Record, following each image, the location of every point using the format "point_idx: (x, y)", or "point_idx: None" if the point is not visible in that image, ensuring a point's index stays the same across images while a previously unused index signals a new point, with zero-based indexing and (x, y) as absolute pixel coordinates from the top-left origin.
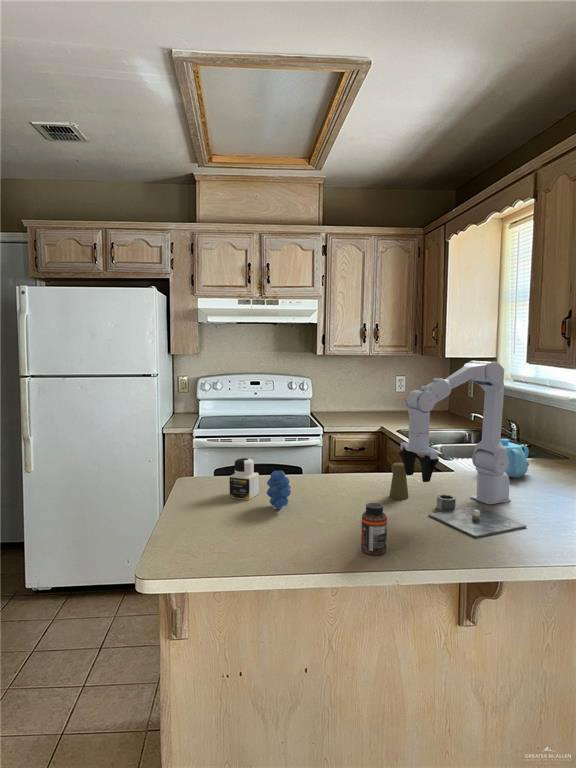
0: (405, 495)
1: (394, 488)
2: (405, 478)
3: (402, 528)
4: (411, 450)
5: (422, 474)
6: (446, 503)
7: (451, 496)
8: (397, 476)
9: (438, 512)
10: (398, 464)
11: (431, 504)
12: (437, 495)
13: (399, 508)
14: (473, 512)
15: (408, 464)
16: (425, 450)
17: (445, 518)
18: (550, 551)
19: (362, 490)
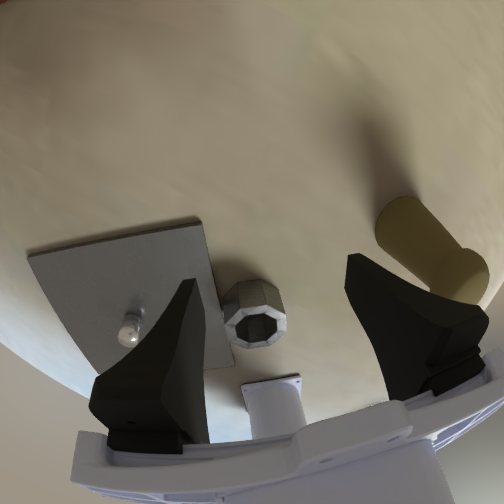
0: (383, 239)
1: (417, 218)
2: (420, 276)
3: (109, 75)
4: (293, 447)
5: (180, 304)
6: (229, 309)
7: (256, 342)
8: (439, 251)
9: (207, 262)
10: (470, 287)
11: (301, 282)
12: (283, 313)
13: (310, 162)
14: (125, 330)
15: (381, 307)
16: (204, 493)
17: (147, 254)
18: (5, 332)
19: (480, 158)
